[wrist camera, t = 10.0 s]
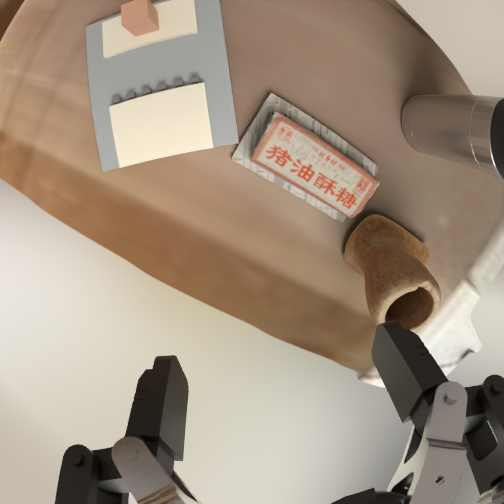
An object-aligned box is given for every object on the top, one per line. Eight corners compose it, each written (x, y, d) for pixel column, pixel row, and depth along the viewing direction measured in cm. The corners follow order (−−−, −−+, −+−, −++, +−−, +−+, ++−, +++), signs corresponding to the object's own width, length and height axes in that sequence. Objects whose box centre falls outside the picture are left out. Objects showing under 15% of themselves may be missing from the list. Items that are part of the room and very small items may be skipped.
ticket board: (218, -7, 23) (217, -15, 21) (238, 142, 33) (239, 143, 30) (90, 29, 23) (82, 25, 20) (107, 170, 32) (99, 173, 30)
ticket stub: (194, -2, 22) (188, -22, 16) (198, 33, 24) (192, 16, 19) (105, 24, 22) (85, 11, 16) (106, 58, 24) (85, 49, 19)
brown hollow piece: (323, 266, 41) (361, 331, 28) (367, 200, 37) (427, 244, 24) (385, 297, 45) (426, 354, 32) (424, 244, 41) (477, 290, 28)
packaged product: (393, 172, 31) (352, 234, 34) (375, 165, 35) (339, 221, 39) (274, 88, 26) (229, 163, 30) (268, 92, 30) (229, 158, 34)
